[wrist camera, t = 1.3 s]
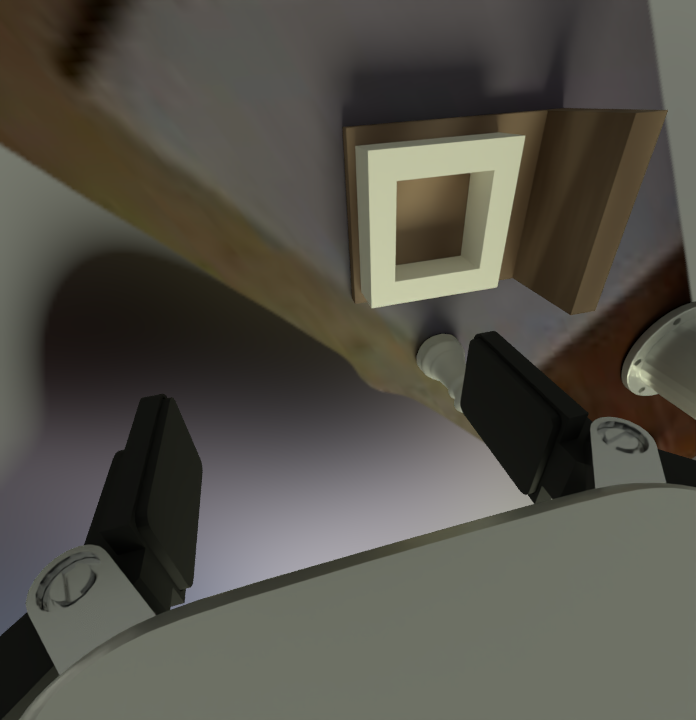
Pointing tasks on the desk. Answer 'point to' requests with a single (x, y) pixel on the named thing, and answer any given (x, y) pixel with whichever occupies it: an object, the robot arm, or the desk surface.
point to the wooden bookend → (525, 196)
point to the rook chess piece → (444, 363)
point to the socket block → (482, 221)
